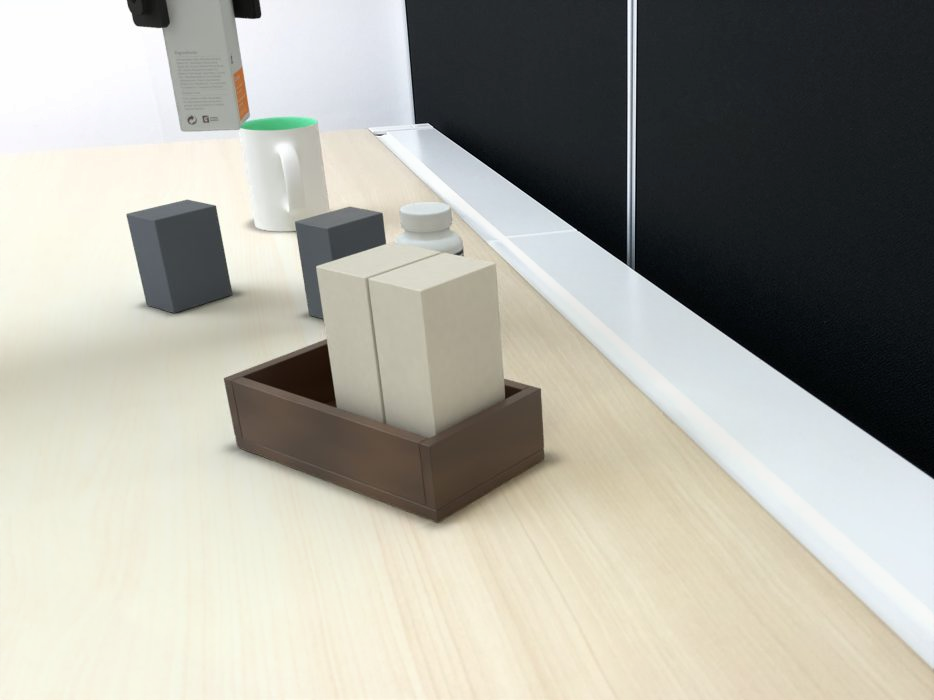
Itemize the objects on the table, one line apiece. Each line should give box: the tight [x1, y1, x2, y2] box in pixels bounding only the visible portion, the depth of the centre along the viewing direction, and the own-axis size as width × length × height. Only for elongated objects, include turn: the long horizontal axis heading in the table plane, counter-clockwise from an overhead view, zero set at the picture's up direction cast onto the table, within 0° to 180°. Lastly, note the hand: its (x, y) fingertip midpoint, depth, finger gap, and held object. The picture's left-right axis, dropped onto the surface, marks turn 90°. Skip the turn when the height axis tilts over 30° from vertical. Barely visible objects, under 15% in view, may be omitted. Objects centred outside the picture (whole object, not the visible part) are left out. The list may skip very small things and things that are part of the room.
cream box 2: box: [368, 253, 505, 438], centre depth 64 cm, size 4×6×12 cm, turn 146°
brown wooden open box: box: [223, 338, 546, 523], centre depth 68 cm, size 18×10×5 cm, turn 56°
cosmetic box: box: [161, 0, 251, 133], centre depth 79 cm, size 6×4×12 cm
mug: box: [238, 116, 331, 232], centre depth 117 cm, size 12×8×10 cm, turn 26°
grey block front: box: [295, 206, 387, 320], centre depth 92 cm, size 4×6×8 cm, turn 146°
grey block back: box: [125, 199, 233, 314], centre depth 95 cm, size 4×6×8 cm, turn 146°
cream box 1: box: [316, 241, 441, 424], centre depth 66 cm, size 4×6×12 cm, turn 146°
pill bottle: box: [394, 201, 465, 257], centre depth 88 cm, size 5×5×10 cm
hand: (199, 20), depth 78 cm, fingers closed on cosmetic box, 7 cm apart
